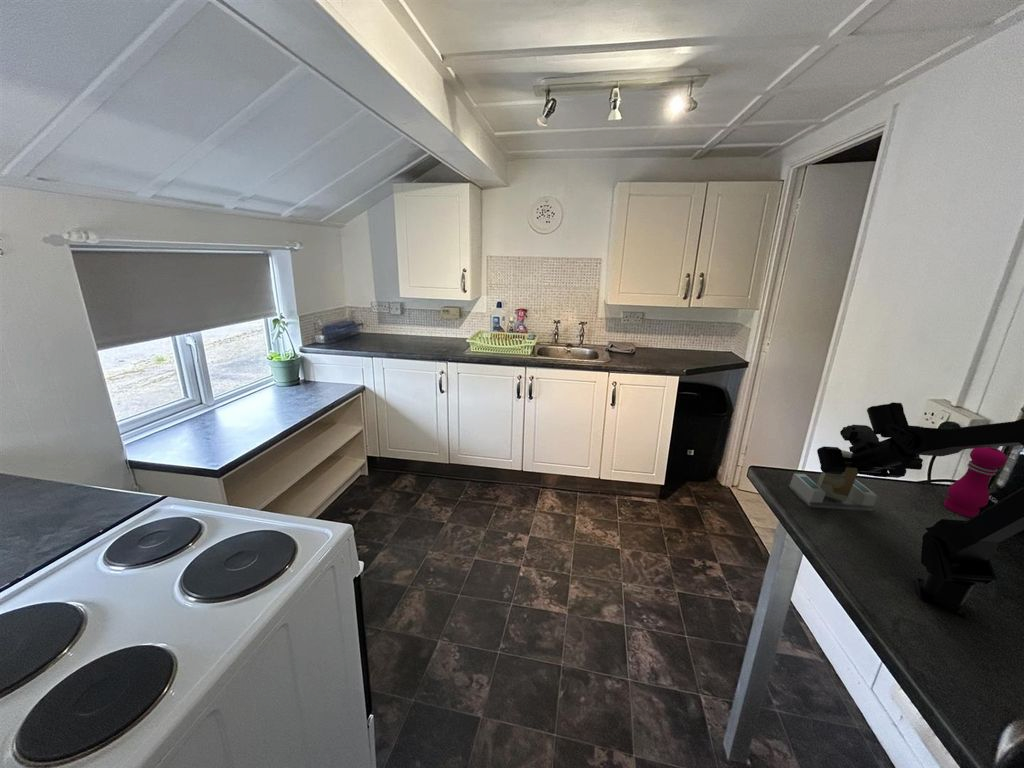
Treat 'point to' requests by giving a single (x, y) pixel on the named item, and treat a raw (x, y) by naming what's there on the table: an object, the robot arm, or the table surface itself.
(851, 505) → the rail board
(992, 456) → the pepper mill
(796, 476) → the mounted modules
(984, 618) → the table surface
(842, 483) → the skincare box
